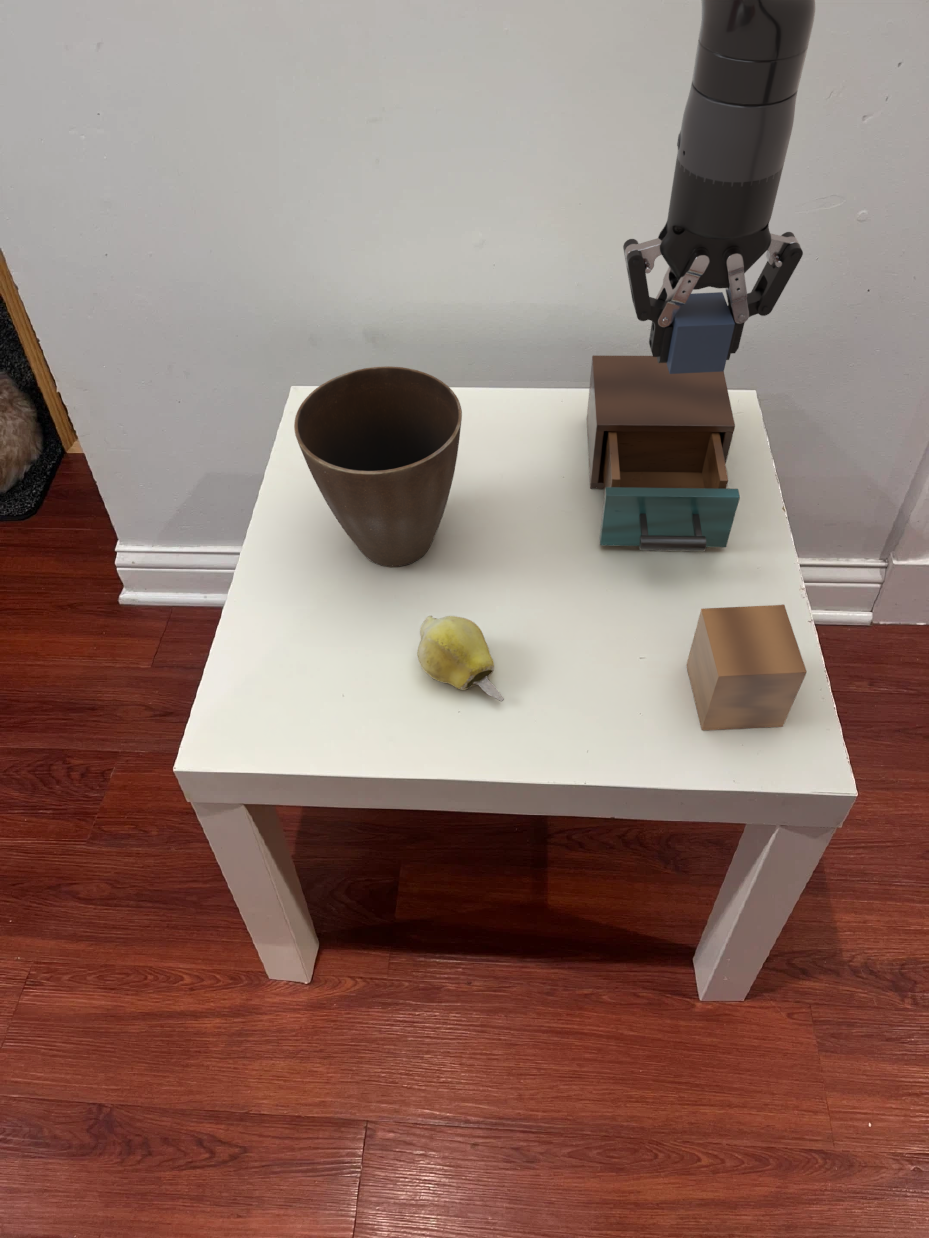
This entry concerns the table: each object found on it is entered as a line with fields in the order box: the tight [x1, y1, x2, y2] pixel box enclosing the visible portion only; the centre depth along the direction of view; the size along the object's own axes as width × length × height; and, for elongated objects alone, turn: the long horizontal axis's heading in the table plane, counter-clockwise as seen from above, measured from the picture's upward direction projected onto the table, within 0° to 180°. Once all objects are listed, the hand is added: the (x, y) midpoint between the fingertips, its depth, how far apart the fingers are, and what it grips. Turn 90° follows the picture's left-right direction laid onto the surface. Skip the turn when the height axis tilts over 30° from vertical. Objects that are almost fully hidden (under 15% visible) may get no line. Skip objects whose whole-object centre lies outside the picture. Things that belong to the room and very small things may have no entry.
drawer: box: [599, 431, 741, 552], centre depth 91 cm, size 15×12×7 cm
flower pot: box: [293, 365, 463, 568], centre depth 88 cm, size 15×15×16 cm
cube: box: [686, 604, 807, 731], centre depth 78 cm, size 7×7×8 cm
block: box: [666, 291, 735, 374], centre depth 77 cm, size 5×5×5 cm
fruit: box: [416, 615, 505, 702], centre depth 82 cm, size 6×6×10 cm
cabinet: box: [586, 354, 736, 490], centre depth 98 cm, size 12×14×9 cm
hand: (691, 355), depth 79 cm, fingers closed on block, 4 cm apart
